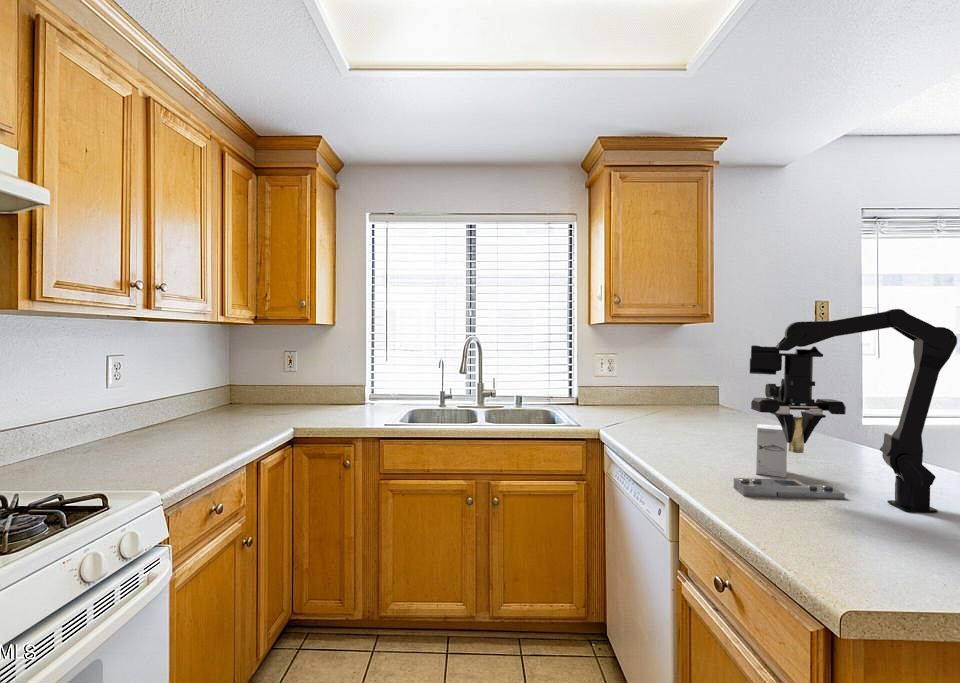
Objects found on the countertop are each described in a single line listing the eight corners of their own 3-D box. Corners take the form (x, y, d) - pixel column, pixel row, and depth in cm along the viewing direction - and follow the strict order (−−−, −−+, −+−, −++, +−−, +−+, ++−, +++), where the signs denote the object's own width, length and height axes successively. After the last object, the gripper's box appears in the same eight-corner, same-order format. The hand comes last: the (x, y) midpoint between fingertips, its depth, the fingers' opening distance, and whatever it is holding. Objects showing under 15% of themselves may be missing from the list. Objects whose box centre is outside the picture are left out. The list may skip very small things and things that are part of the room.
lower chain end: (844, 498, 129) (844, 491, 129) (778, 497, 130) (778, 489, 130) (828, 490, 136) (828, 482, 136) (765, 488, 137) (765, 481, 137)
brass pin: (806, 453, 129) (807, 418, 129) (792, 452, 130) (793, 418, 129) (799, 450, 132) (800, 416, 132) (786, 450, 133) (787, 416, 132)
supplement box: (755, 474, 150) (755, 427, 150) (756, 468, 157) (756, 423, 156) (787, 478, 147) (787, 429, 146) (786, 471, 153) (787, 425, 153)
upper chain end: (809, 497, 129) (810, 484, 129) (744, 496, 131) (744, 483, 131) (795, 489, 136) (796, 476, 136) (733, 487, 138) (733, 475, 138)
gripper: (822, 373, 138) (820, 437, 138) (743, 372, 139) (741, 435, 140) (848, 377, 127) (845, 447, 127) (762, 376, 128) (760, 444, 129)
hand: (796, 442), depth 131 cm, fingers closed on brass pin, 3 cm apart
